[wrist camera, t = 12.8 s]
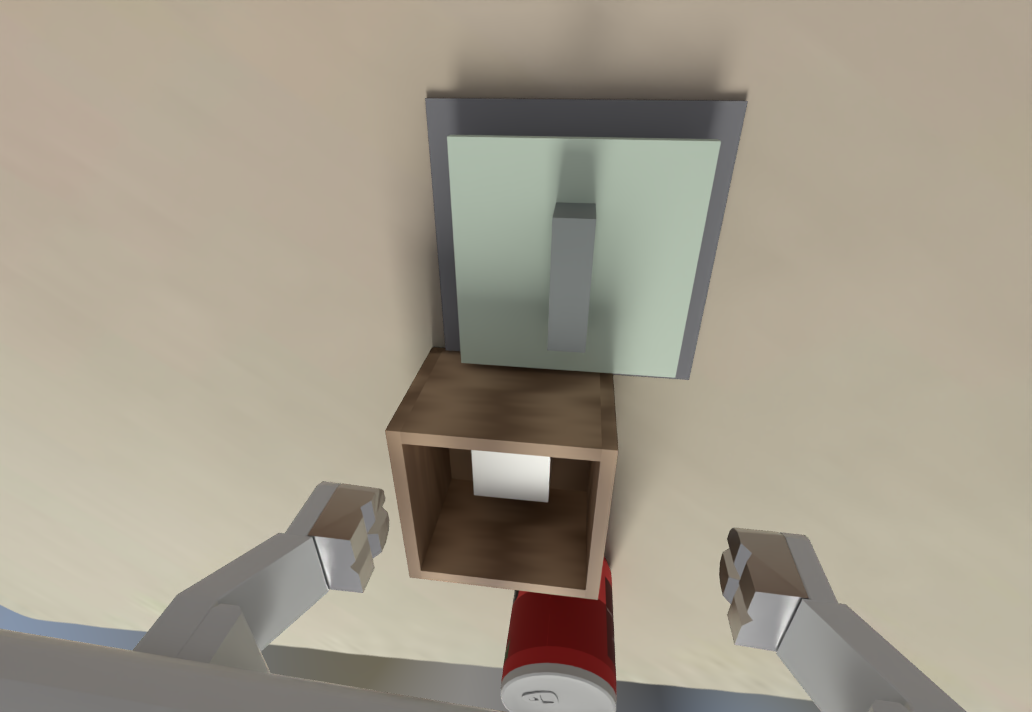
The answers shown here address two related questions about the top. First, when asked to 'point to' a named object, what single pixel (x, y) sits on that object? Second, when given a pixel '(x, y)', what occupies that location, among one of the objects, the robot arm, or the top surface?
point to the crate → (517, 430)
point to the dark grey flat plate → (584, 122)
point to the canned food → (561, 652)
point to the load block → (511, 475)
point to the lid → (577, 248)
